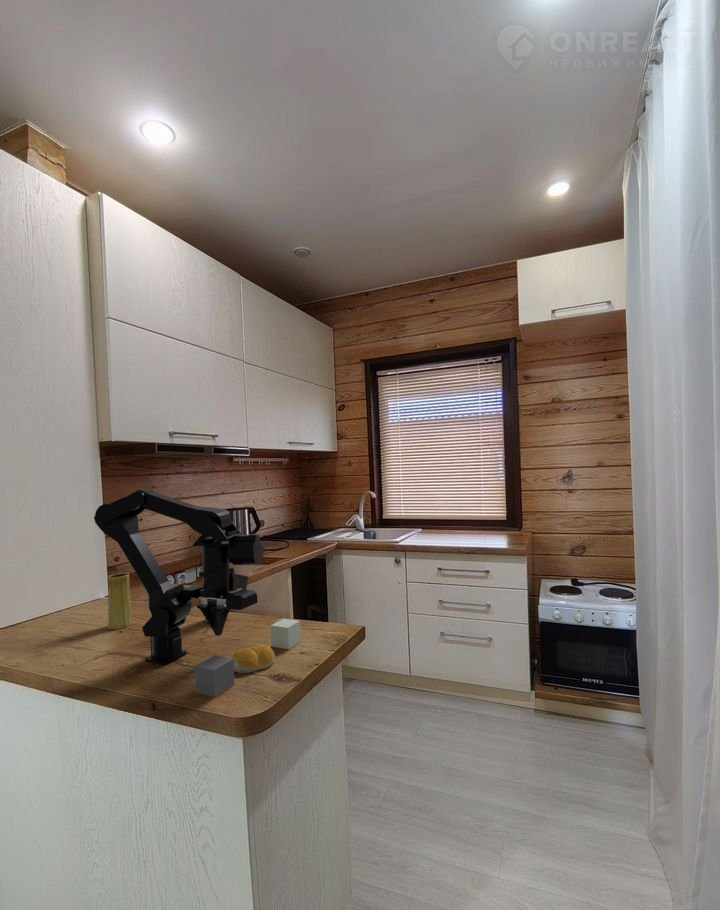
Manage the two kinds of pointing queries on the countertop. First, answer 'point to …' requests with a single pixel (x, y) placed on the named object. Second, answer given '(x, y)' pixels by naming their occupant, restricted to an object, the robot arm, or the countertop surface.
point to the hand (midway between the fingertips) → (218, 635)
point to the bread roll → (253, 658)
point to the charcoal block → (214, 675)
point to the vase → (119, 601)
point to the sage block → (285, 633)
